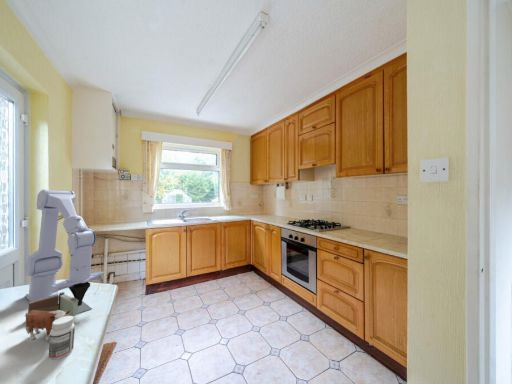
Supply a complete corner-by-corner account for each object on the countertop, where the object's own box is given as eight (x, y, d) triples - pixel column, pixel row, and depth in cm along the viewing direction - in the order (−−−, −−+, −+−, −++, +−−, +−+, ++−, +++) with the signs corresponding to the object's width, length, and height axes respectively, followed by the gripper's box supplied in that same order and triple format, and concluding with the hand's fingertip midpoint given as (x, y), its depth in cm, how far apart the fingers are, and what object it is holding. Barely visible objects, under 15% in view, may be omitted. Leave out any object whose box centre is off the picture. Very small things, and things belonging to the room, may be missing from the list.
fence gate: (59, 310, 71) (60, 295, 72) (64, 308, 73) (65, 293, 73) (72, 316, 67) (73, 301, 68) (77, 314, 69) (78, 299, 69)
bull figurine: (56, 346, 55) (58, 315, 55) (19, 339, 57) (21, 309, 58) (73, 336, 59) (75, 307, 59) (38, 329, 62) (40, 302, 62)
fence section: (27, 319, 66) (28, 301, 66) (62, 307, 73) (63, 291, 74) (28, 320, 65) (29, 302, 66) (64, 309, 73) (65, 292, 73)
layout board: (25, 314, 69) (25, 313, 69) (78, 298, 81) (78, 297, 81) (35, 329, 62) (35, 327, 62) (91, 309, 73) (91, 308, 73)
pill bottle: (59, 346, 55) (61, 314, 55) (78, 345, 55) (80, 314, 55) (42, 360, 50) (44, 325, 50) (63, 359, 50) (65, 324, 51)
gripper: (60, 274, 63) (57, 318, 62) (109, 261, 76) (107, 298, 76) (48, 270, 66) (45, 313, 65) (97, 259, 79) (96, 294, 78)
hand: (78, 305), depth 71 cm, fingers closed
